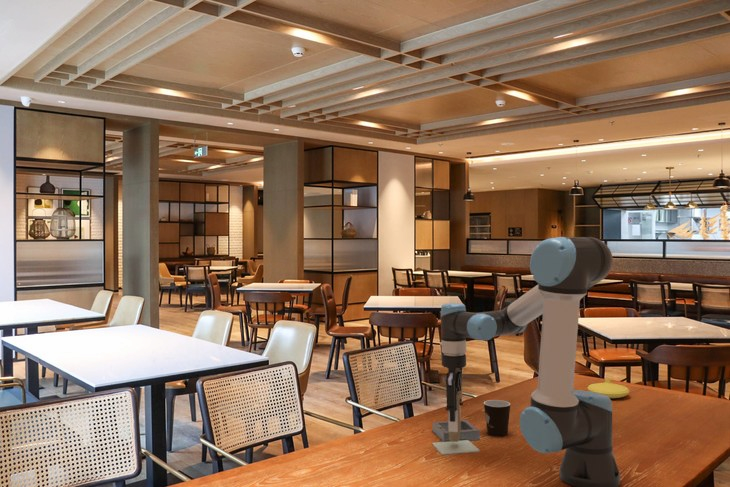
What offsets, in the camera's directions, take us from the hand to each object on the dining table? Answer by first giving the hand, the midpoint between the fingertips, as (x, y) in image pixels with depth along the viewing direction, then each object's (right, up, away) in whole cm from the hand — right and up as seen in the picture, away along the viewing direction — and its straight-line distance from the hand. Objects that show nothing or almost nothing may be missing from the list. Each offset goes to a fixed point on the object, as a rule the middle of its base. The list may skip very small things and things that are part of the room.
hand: (454, 429), depth 191 cm
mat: (0, -6, 0) cm, 6 cm away
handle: (0, -4, 0) cm, 4 cm away
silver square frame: (+2, -6, +12) cm, 13 cm away
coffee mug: (+16, -6, +14) cm, 22 cm away
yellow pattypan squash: (+70, -5, +58) cm, 91 cm away
